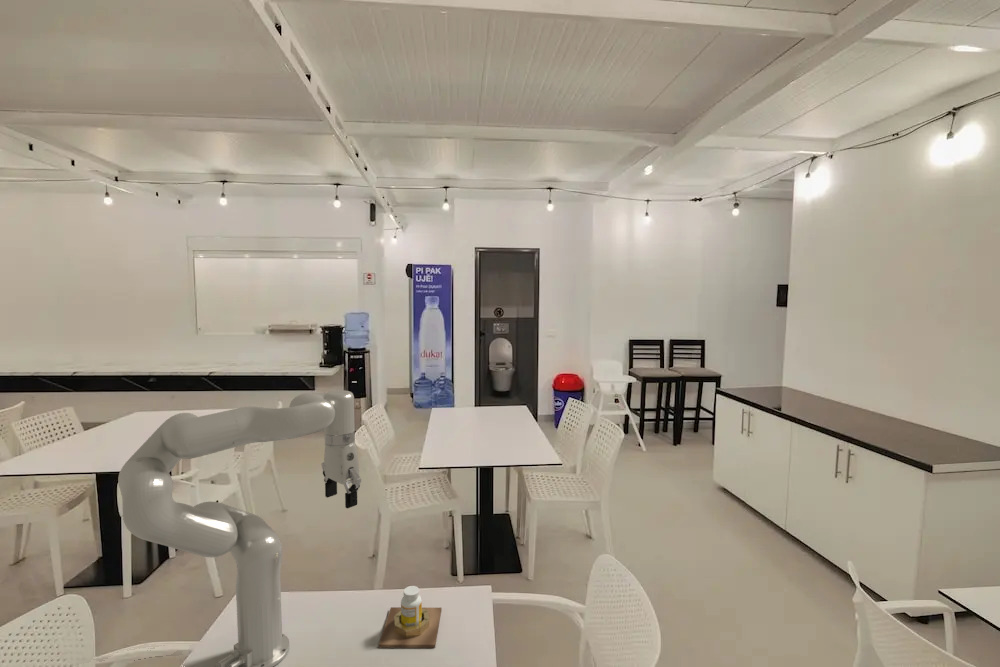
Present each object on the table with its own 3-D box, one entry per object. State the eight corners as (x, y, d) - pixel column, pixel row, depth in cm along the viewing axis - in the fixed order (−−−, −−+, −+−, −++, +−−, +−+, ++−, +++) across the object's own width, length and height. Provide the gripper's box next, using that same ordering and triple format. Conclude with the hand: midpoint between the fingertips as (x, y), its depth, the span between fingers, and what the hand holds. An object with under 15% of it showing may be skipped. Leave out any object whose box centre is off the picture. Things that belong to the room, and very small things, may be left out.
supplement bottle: (409, 635, 122) (408, 599, 121) (396, 625, 126) (396, 590, 125) (426, 625, 126) (425, 590, 125) (413, 615, 130) (413, 581, 129)
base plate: (378, 647, 119) (378, 644, 119) (390, 610, 133) (390, 607, 133) (435, 647, 119) (435, 644, 119) (441, 610, 133) (441, 607, 133)
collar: (413, 641, 120) (413, 634, 120) (387, 628, 124) (387, 621, 124) (435, 621, 127) (435, 614, 127) (410, 609, 132) (410, 602, 132)
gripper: (371, 441, 123) (372, 506, 125) (335, 428, 135) (336, 487, 136) (345, 448, 118) (346, 516, 119) (309, 434, 129) (311, 496, 130)
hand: (341, 501), depth 128 cm, fingers open, 9 cm apart
